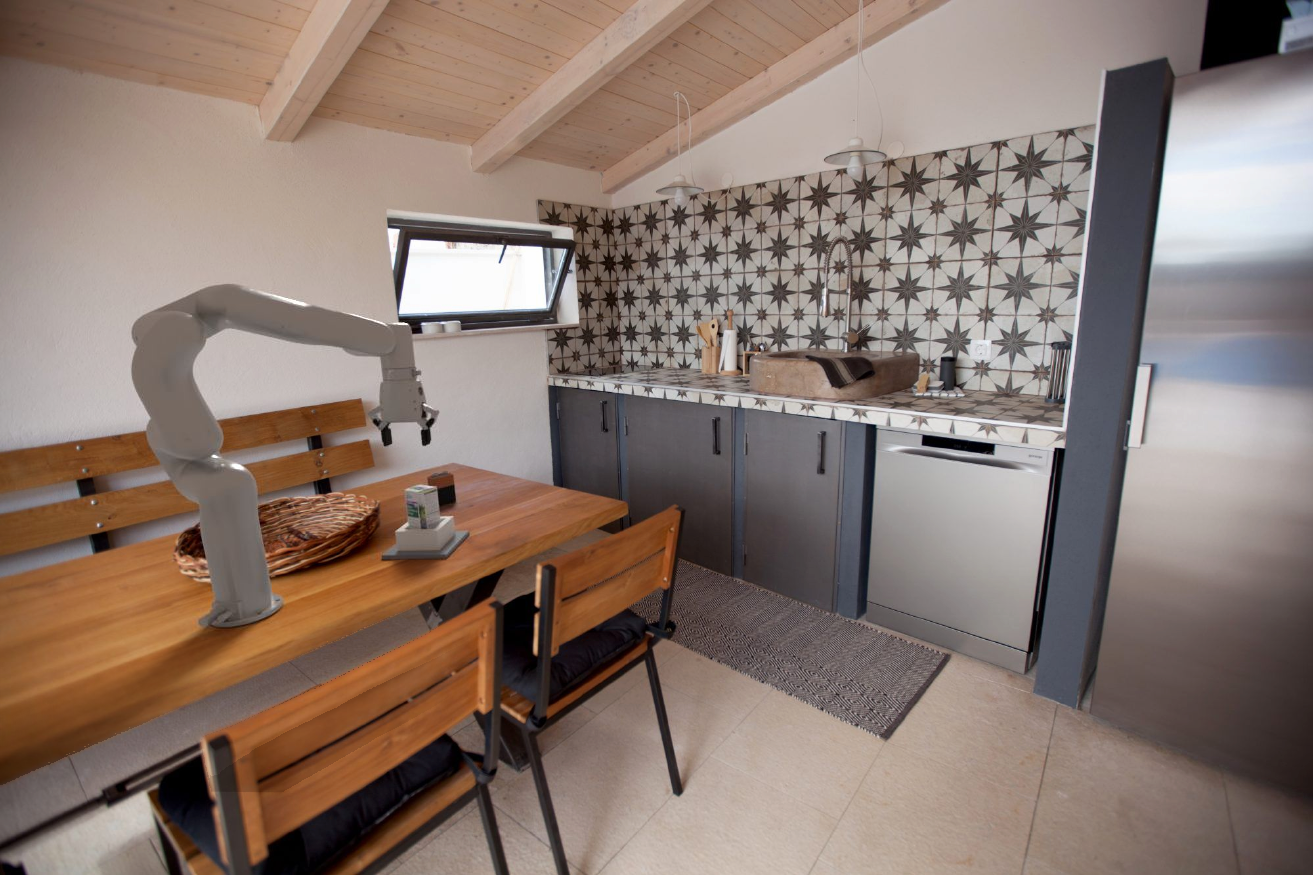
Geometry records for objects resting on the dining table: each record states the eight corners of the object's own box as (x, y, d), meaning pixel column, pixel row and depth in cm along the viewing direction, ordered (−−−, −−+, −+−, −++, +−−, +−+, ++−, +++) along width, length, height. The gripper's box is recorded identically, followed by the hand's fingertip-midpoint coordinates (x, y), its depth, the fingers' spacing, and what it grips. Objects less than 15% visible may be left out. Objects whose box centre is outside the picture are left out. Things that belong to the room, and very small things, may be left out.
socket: (446, 558, 147) (443, 534, 146) (382, 559, 148) (378, 535, 147) (469, 533, 163) (467, 512, 161) (411, 534, 163) (408, 513, 162)
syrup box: (409, 544, 154) (402, 489, 151) (427, 536, 159) (421, 483, 156) (426, 547, 151) (419, 492, 148) (443, 539, 156) (437, 485, 153)
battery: (429, 504, 189) (426, 473, 187) (449, 499, 194) (446, 468, 192) (436, 507, 186) (433, 475, 184) (457, 501, 191) (453, 470, 189)
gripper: (441, 373, 149) (447, 441, 152) (372, 374, 150) (380, 442, 153) (427, 376, 141) (435, 448, 145) (356, 377, 142) (365, 448, 146)
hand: (407, 445), depth 149 cm, fingers open, 9 cm apart
